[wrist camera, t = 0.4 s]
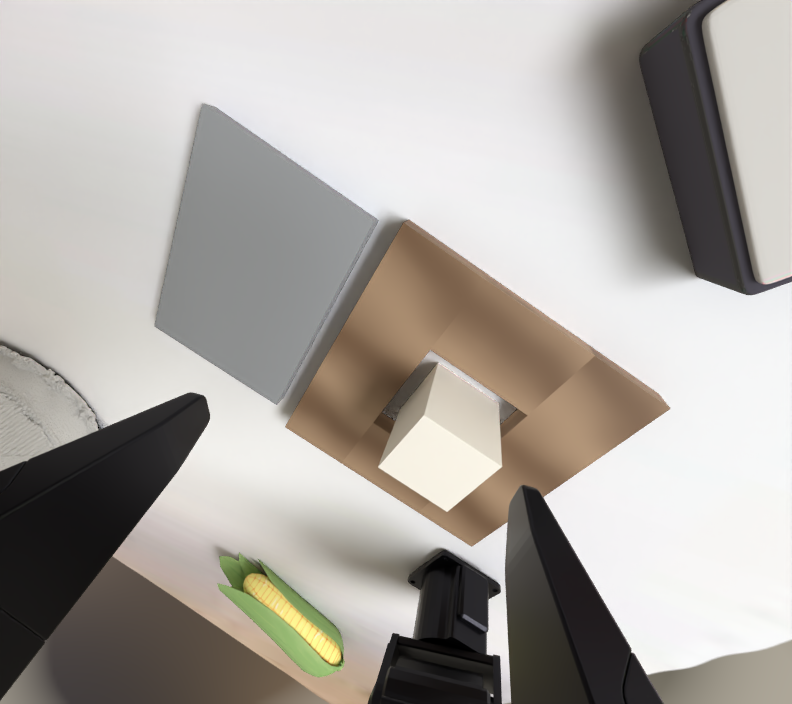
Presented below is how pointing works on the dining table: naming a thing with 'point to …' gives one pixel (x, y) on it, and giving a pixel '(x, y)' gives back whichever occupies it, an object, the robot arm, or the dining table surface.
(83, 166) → the dining table surface
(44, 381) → the grey stone disc
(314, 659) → the edible corn
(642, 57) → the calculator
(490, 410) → the white block
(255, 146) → the grey mat
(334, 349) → the pocket plate
